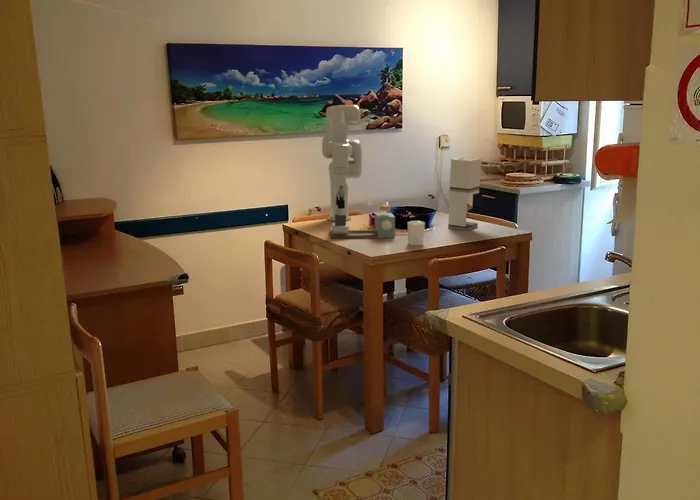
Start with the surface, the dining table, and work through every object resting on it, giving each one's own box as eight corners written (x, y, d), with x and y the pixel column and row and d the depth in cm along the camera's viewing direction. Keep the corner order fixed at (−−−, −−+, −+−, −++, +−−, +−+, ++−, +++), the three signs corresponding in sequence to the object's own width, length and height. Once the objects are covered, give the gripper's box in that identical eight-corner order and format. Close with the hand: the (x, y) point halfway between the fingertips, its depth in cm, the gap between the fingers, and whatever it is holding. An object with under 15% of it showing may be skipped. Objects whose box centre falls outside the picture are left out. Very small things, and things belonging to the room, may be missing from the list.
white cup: (410, 246, 298) (411, 224, 296) (404, 242, 306) (405, 221, 303) (426, 245, 300) (427, 223, 298) (420, 241, 308) (421, 220, 305)
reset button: (379, 208, 319) (379, 204, 319) (389, 208, 320) (389, 204, 319) (380, 210, 314) (380, 206, 314) (391, 210, 315) (391, 206, 315)
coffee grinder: (466, 230, 330) (470, 160, 322) (448, 228, 337) (450, 159, 328) (477, 227, 339) (480, 158, 331) (458, 224, 345) (461, 157, 337)
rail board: (329, 233, 323) (329, 228, 323) (373, 232, 326) (373, 227, 325) (330, 238, 312) (330, 233, 311) (377, 238, 314) (377, 232, 313)
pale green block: (374, 232, 325) (375, 212, 323) (390, 232, 326) (391, 212, 323) (378, 238, 314) (378, 217, 312) (394, 237, 315) (395, 217, 312)
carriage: (332, 230, 322) (332, 213, 320) (346, 230, 322) (346, 212, 320) (333, 234, 313) (333, 216, 311) (348, 234, 314) (348, 216, 312)
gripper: (331, 168, 318) (331, 204, 322) (333, 172, 302) (333, 209, 305) (346, 168, 319) (346, 204, 323) (350, 172, 302) (350, 209, 306)
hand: (340, 206), depth 314 cm, fingers open, 9 cm apart
